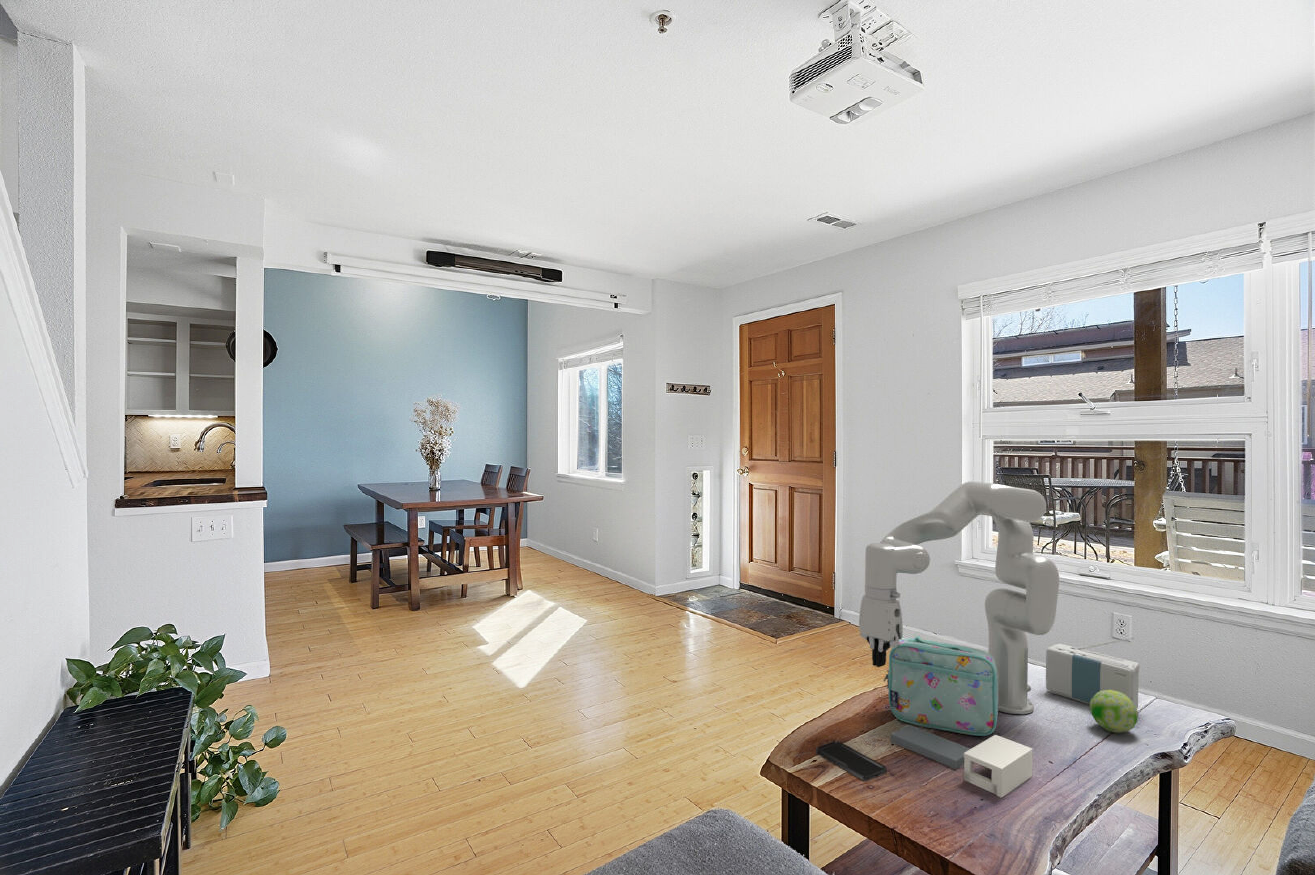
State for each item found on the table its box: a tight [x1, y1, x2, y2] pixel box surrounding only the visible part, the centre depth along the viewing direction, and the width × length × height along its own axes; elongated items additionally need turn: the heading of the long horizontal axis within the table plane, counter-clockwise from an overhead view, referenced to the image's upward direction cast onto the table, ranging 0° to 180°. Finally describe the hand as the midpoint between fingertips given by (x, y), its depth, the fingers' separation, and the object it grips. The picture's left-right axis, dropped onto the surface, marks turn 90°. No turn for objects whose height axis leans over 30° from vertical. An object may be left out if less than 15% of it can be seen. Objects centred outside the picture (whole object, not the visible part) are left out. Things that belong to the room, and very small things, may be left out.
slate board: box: [890, 724, 971, 770], centre depth 152 cm, size 8×16×2 cm, turn 39°
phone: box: [815, 740, 888, 782], centre depth 146 cm, size 8×1×15 cm
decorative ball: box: [1089, 690, 1139, 734], centre depth 162 cm, size 10×10×10 cm
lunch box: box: [883, 635, 999, 737], centre depth 165 cm, size 27×10×21 cm, turn 62°
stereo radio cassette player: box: [1045, 636, 1140, 709], centre depth 179 cm, size 21×8×20 cm, turn 36°
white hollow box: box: [963, 734, 1034, 799], centre depth 140 cm, size 14×8×6 cm, turn 127°
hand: (878, 665), depth 163 cm, fingers closed
